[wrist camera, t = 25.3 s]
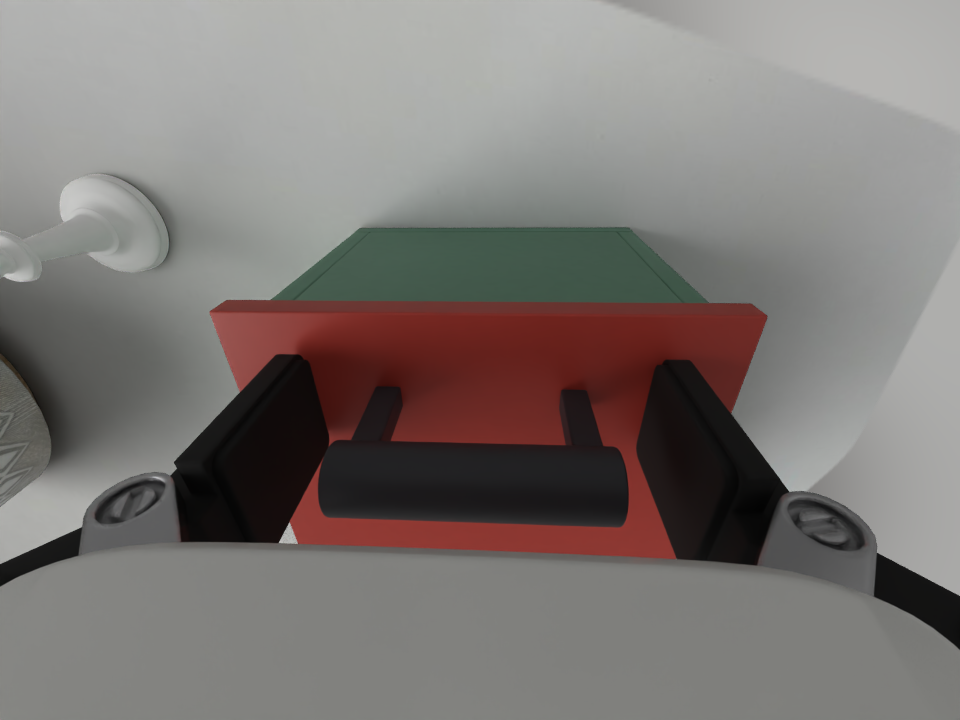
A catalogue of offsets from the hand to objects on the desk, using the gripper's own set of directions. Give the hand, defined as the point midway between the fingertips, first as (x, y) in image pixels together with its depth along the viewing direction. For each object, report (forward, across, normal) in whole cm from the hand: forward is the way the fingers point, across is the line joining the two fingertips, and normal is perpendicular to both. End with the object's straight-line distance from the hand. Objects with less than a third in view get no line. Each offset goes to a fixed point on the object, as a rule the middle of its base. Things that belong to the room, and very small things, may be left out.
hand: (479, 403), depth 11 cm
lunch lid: (+1, 0, +7) cm, 7 cm away
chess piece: (+13, +20, -2) cm, 23 cm away
